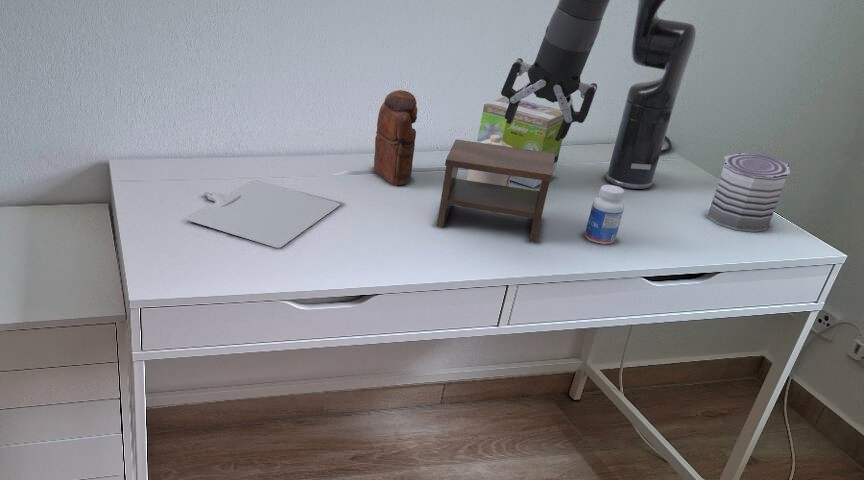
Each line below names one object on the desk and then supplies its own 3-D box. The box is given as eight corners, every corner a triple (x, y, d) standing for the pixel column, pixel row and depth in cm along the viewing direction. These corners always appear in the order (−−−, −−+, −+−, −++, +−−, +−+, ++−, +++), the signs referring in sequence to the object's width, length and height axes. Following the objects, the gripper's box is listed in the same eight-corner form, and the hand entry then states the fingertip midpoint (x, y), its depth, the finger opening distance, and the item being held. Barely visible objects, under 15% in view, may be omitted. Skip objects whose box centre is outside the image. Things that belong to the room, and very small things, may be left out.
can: (782, 227, 168) (804, 168, 162) (743, 236, 164) (764, 175, 158) (732, 206, 177) (751, 149, 171) (693, 214, 172) (711, 155, 166)
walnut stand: (445, 203, 171) (455, 139, 165) (540, 218, 167) (555, 153, 160) (435, 226, 161) (445, 159, 154) (536, 243, 156) (552, 175, 150)
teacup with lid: (514, 199, 175) (526, 143, 169) (471, 199, 174) (481, 142, 168) (494, 178, 185) (504, 124, 179) (453, 178, 184) (462, 124, 178)
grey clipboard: (238, 178, 178) (238, 173, 177) (341, 207, 169) (341, 201, 168) (167, 217, 159) (167, 211, 158) (278, 251, 150) (279, 245, 149)
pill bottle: (579, 232, 162) (591, 182, 157) (607, 232, 162) (620, 183, 157) (591, 244, 157) (604, 193, 152) (619, 244, 157) (633, 194, 152)
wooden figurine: (419, 184, 180) (431, 97, 170) (392, 187, 178) (403, 99, 168) (391, 165, 189) (402, 82, 180) (365, 168, 187) (375, 84, 178)
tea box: (470, 170, 189) (482, 102, 181) (492, 160, 195) (505, 94, 188) (534, 189, 180) (549, 119, 173) (555, 177, 187) (570, 109, 180)
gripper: (618, 45, 136) (578, 136, 147) (531, 17, 140) (499, 108, 151) (609, 61, 131) (569, 154, 142) (519, 32, 135) (487, 124, 146)
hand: (533, 130), depth 147 cm, fingers open, 8 cm apart
